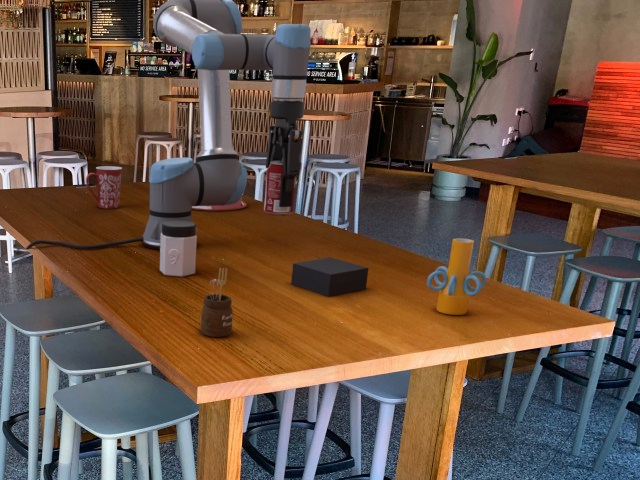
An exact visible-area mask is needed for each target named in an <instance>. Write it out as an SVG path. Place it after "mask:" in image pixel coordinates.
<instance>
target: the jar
mask: <svg viewBox="0 0 640 480" xmlns="http://www.w3.org/2000/svg"><path fill="white" fill-rule="evenodd" d="M196 226H197V224H196V223H195V222H194V221H192V222H190V221H180V220H175V221H166V222H163V223H162V233H161V241H160V250H159V252H160V253H159V272H161V273H162V274H163V275H164V276H167V277H168V276H169V277H180V278H181V277H187V276H191V275H195V274H196V268H197V267H196V265H197V264H196V263H197V246H196V243H197V244H198V236H197V233H196V232H197V231H196ZM195 234H196V235H195Z"/></svg>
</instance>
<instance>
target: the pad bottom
mask: <svg viewBox="0 0 640 480" xmlns="http://www.w3.org/2000/svg"><path fill="white" fill-rule="evenodd" d="M367 284H368V278H367V279H361V280H356V281H351V282H345V283H340V284H335V285H327V284H323V283H320V282H317V281H314V280H311V279H307V278H304V277H301V276H298V275H295V274H292V273H291V282H290V285H293V286H296V287H297V288H298V287H299V288H301V289H304V290H308V291H311V292H314V293H317V294H320V295H323V296H326V297H333V296H338V295H343V294H347V293H352V292H359V291H364V290H367Z"/></svg>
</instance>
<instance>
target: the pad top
mask: <svg viewBox="0 0 640 480" xmlns="http://www.w3.org/2000/svg"><path fill="white" fill-rule="evenodd" d="M292 274H295V275H298V276H301V277H304V278H307V279H311V280H314V281H317V282H320V283H323V284H327V285H335V284H340V283H345V282H351V281H356V280H361V279H367V280H368V276H369V267H368V266H363V265H360V264H357V263H353V262H349V261H345V260H342V259H339V258H335V257H330V256H329V257H322V258H317V259H310V260H306V261H297V262H293V263H292V270H291V275H292Z"/></svg>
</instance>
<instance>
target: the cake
mask: <svg viewBox="0 0 640 480" xmlns="http://www.w3.org/2000/svg"><path fill="white" fill-rule="evenodd" d="M247 206H248V203H246V202H245V201H243V196H242V197H241V199H240V200H239V201H238V202H237V203H235V204H230V205H224V206H220V205H215V206H192V210H196V211H208V212H223V211H224V212H226V211H227V212H228V211H235V210H242V209H244V208H246V207H247Z"/></svg>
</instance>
